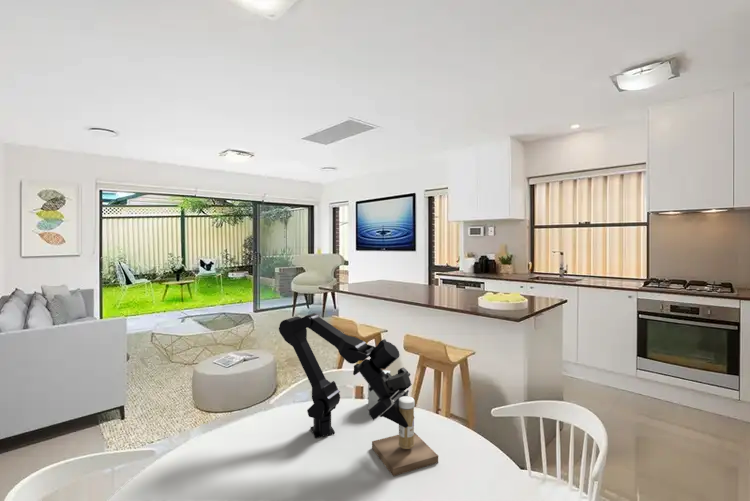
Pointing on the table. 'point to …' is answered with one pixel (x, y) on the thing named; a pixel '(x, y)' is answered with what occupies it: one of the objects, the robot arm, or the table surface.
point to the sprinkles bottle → (408, 413)
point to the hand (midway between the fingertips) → (410, 423)
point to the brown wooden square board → (404, 454)
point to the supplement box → (373, 395)
